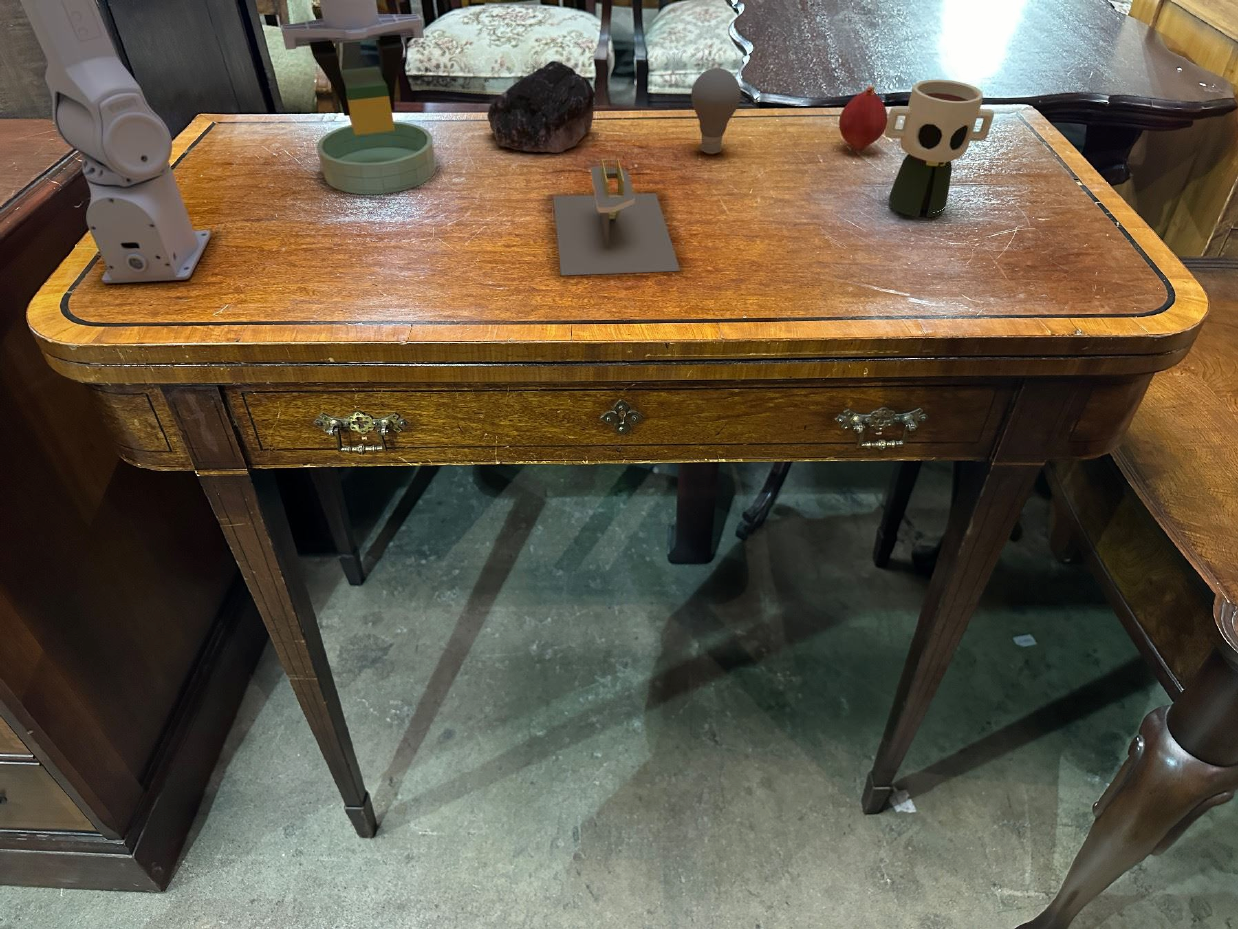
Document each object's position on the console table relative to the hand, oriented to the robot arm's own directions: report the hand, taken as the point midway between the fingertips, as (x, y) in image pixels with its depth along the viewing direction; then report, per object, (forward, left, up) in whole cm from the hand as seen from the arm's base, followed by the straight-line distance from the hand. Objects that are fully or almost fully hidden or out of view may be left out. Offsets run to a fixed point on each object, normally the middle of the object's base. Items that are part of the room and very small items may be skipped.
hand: (368, 110), depth 93 cm
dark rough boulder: (+9, -20, -7) cm, 23 cm away
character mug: (-16, -61, -7) cm, 63 cm away
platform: (-18, -26, -7) cm, 32 cm away
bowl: (0, 0, -7) cm, 7 cm away
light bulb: (+2, -41, -7) cm, 42 cm away
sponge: (0, 0, -1) cm, 1 cm away
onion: (+1, -60, -7) cm, 61 cm away
